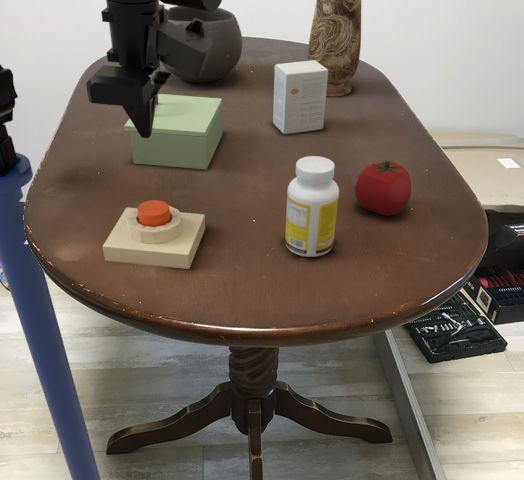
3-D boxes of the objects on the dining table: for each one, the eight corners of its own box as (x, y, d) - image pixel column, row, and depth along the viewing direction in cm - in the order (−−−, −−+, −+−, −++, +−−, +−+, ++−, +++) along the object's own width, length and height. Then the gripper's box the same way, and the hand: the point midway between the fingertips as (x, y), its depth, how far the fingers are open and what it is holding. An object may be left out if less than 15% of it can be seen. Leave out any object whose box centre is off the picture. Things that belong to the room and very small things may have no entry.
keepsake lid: (124, 130, 92) (120, 98, 89) (149, 97, 103) (146, 67, 100) (205, 137, 91) (204, 104, 88) (222, 103, 102) (221, 72, 99)
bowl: (146, 71, 129) (140, 5, 121) (221, 61, 136) (220, -2, 127) (175, 98, 118) (170, 28, 109) (256, 86, 124) (257, 19, 116)
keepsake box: (133, 163, 96) (129, 131, 92) (157, 128, 107) (154, 98, 103) (206, 169, 95) (205, 137, 91) (223, 133, 106) (222, 103, 102)
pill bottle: (337, 238, 81) (348, 157, 73) (325, 263, 76) (335, 180, 68) (292, 229, 82) (297, 149, 74) (278, 253, 78) (282, 170, 70)
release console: (105, 260, 75) (100, 233, 73) (128, 221, 83) (124, 195, 80) (189, 269, 75) (187, 242, 72) (205, 228, 82) (204, 202, 79)
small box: (311, 118, 112) (316, 59, 105) (323, 129, 108) (329, 69, 101) (272, 123, 110) (274, 63, 103) (283, 135, 106) (286, 73, 99)
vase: (358, 84, 127) (381, -89, 106) (350, 101, 119) (373, -81, 99) (311, 78, 129) (324, -93, 108) (300, 95, 121) (312, -86, 101)
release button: (135, 226, 75) (133, 214, 74) (143, 210, 78) (142, 198, 77) (165, 229, 75) (164, 216, 73) (173, 213, 77) (172, 201, 76)
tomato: (343, 208, 87) (349, 161, 82) (375, 190, 91) (383, 145, 86) (388, 228, 83) (397, 181, 78) (419, 209, 87) (430, 162, 82)
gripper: (183, 26, 57) (190, 176, 68) (221, -16, 71) (222, 115, 81) (73, 17, 58) (97, 166, 69) (131, -23, 72) (144, 107, 82)
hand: (146, 136), depth 75 cm, fingers closed
